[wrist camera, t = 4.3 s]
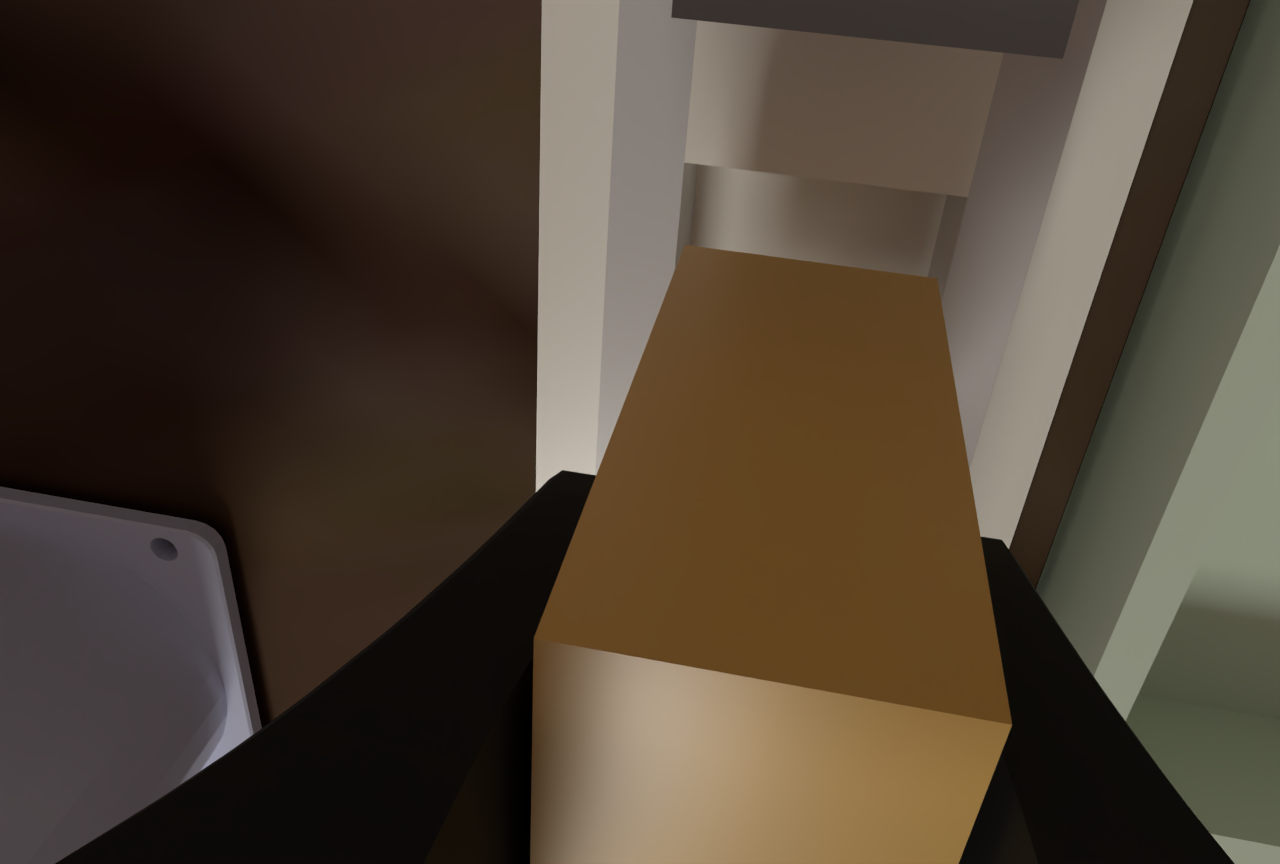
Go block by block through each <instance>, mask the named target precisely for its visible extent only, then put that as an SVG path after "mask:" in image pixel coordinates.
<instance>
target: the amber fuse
mask: <svg viewBox="0 0 1280 864" xmlns="http://www.w3.org/2000/svg"><path fill="white" fill-rule="evenodd" d="M1011 727H1012V721H1011V715H1010V709H1009V703H1008V697H1007V691H1006V685H1005V679H1004V673H1003V667H1002V661H1001V655H1000V649H999V643H998V637H997V631H996V626H995V620H994V614H993V608H992V602H991V596H990V590H989V584H988V578H987V572H986V566H985V560H984V554H983V548H982V542H981V536H980V530H979V524H978V518H977V512H976V506H975V500H974V494H973V488H972V482H971V476H970V470H969V464H968V458H967V452H966V446H965V440H964V435H963V429H962V423H961V417H960V411H959V405H958V399H957V393H956V387H955V381H954V375H953V369H952V363H951V357H950V351H949V345H948V339H947V333H946V327H945V321H944V315H943V309H942V303H941V297H940V291H939V285H938V279H937V278H931V277H923V276H916V275H908V274H901V273H893V272H886V271H878V270H871V269H863V268H856V267H848V266H841V265H833V264H826V263H818V262H811V261H803V260H796V259H788V258H781V257H773V256H766V255H758V254H750V253H743V252H735V251H728V250H720V249H713V248H705V247H698V246H690V245H684V248H683V250H682V253H681V256H680V258H679V261H678V263H677V266H676V269H675V271H674V274H673V277H672V279H671V282H670V284H669V287H668V290H667V292H666V295H665V297H664V300H663V303H662V305H661V308H660V310H659V313H658V316H657V318H656V321H655V323H654V326H653V329H652V331H651V334H650V336H649V339H648V342H647V344H646V347H645V350H644V352H643V355H642V357H641V360H640V363H639V365H638V368H637V370H636V373H635V376H634V378H633V381H632V383H631V386H630V389H629V391H628V394H627V396H626V399H625V402H624V404H623V407H622V409H621V412H620V415H619V417H618V420H617V423H616V425H615V428H614V430H613V433H612V436H611V438H610V441H609V443H608V446H607V449H606V451H605V454H604V456H603V459H602V462H601V464H600V467H599V469H598V472H597V475H596V477H595V480H594V482H593V485H592V488H591V490H590V493H589V495H588V498H587V501H586V503H585V506H584V509H583V511H582V514H581V516H580V519H579V522H578V524H577V527H576V529H575V532H574V535H573V537H572V540H571V542H570V545H569V548H568V550H567V553H566V555H565V558H564V561H563V563H562V566H561V568H560V571H559V574H558V576H557V579H556V582H555V584H554V587H553V589H552V592H551V595H550V597H549V600H548V602H547V605H546V608H545V610H544V613H543V615H542V618H541V621H540V623H539V626H538V628H537V631H536V634H535V636H534V649H533V712H532V775H531V838H530V864H959V861H960V859H961V856H962V853H963V851H964V848H965V846H966V843H967V841H968V838H969V835H970V833H971V830H972V828H973V825H974V822H975V820H976V817H977V815H978V812H979V809H980V807H981V804H982V802H983V799H984V797H985V794H986V791H987V789H988V786H989V784H990V781H991V778H992V776H993V773H994V771H995V768H996V765H997V763H998V760H999V758H1000V755H1001V753H1002V750H1003V747H1004V745H1005V742H1006V740H1007V737H1008V734H1009V732H1010V729H1011Z"/></svg>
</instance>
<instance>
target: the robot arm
mask: <svg viewBox="0 0 1280 864" xmlns="http://www.w3.org/2000/svg"><path fill="white" fill-rule="evenodd" d="M595 477H596V475H591V474H584V473H578V472H572V471H565V470H562V471H560V472H559V473H557V474H556V475H554V476H553V477H551V478H550V479H549V480H548V481H547V482H546V483H545V484H544V485H543V486H542V487H541V488H540V489H539V490H538V491H537V492H536V493H535V494H534V495H533V496H532V497H531V498H530V499H529V500H528V501H527V502H526V503H525V504H524V505H523V506H522V507H521V508H520V509H519V510H518V511H517V512H516V513H515V514H514V515H513V516H512V517H511V518H510V519H509V520H508V521H507V522H506V523H505V524H504V525H503V526H502V527H501V528H500V529H499V530H498V531H497V532H496V533H495V534H494V535H493V536H492V537H491V538H490V539H489V540H488V541H487V542H485V543H484V544H483V545H482V546H481V547H480V548H479V549H478V550H477V551H476V552H475V553H474V554H473V555H472V556H471V557H470V558H469V559H468V560H467V561H465V562H464V563H463V564H462V565H461V566H460V567H459V568H458V569H457V570H455V571H454V572H453V573H452V574H451V575H450V576H449V577H448V578H447V579H445V580H444V581H443V582H442V583H441V584H440V585H439V586H438V587H436V588H435V589H434V590H433V591H432V592H431V593H430V594H429V595H427V596H426V597H425V598H424V599H423V600H422V601H421V602H420V603H419V604H417V605H416V606H415V607H414V608H413V609H412V610H411V611H410V612H408V613H407V614H406V615H405V616H404V617H403V618H402V619H400V620H399V621H398V622H397V623H396V624H395V625H393V626H392V627H391V628H390V629H389V630H387V631H386V632H385V633H384V634H383V635H381V636H380V637H379V638H378V639H376V640H375V641H374V642H373V643H371V644H370V645H369V646H368V647H366V648H365V649H364V650H363V651H361V652H360V653H359V654H358V655H356V656H355V657H354V658H353V659H351V660H350V661H349V662H348V663H346V664H345V665H344V666H343V667H341V668H340V669H339V670H338V671H336V672H335V673H334V674H333V675H331V676H330V677H329V678H328V679H326V680H325V681H324V682H323V683H321V684H320V685H319V686H318V687H316V688H315V689H314V690H313V691H311V692H310V693H309V694H308V695H306V696H305V697H304V698H302V699H301V700H300V701H298V702H297V703H296V704H294V705H293V706H292V707H290V708H289V709H288V710H286V711H285V712H283V713H282V714H281V715H279V716H278V717H277V718H275V719H274V720H273V721H271V722H270V723H269V724H267V725H266V726H264V727H263V728H262V727H261V722H260V717H259V711H258V706H257V701H256V696H255V691H254V686H253V681H252V676H251V671H250V666H249V661H248V656H247V651H246V646H245V641H244V636H243V631H242V626H241V621H240V616H239V611H238V606H237V601H236V596H235V591H234V586H233V581H232V576H231V571H230V566H229V561H228V555H227V550H226V546H225V544H224V541H223V539H222V537H221V536H220V535H219V534H218V532H217V531H216V530H215V529H213V528H212V527H210V526H209V525H207V524H205V523H202V522H199V521H195V520H190V519H184V518H178V517H172V516H167V515H161V514H155V513H149V512H144V511H138V510H132V509H126V508H121V507H115V506H109V505H103V504H98V503H92V502H86V501H80V500H74V499H69V498H63V497H57V496H51V495H46V494H40V493H34V492H28V491H23V490H17V489H11V488H5V487H0V864H530V838H531V775H532V712H533V649H534V636H535V634H536V631H537V628H538V626H539V623H540V621H541V618H542V615H543V613H544V610H545V608H546V605H547V602H548V600H549V597H550V595H551V592H552V589H553V587H554V584H555V582H556V579H557V576H558V574H559V571H560V568H561V566H562V563H563V561H564V558H565V555H566V553H567V550H568V548H569V545H570V542H571V540H572V537H573V535H574V532H575V529H576V527H577V524H578V522H579V519H580V516H581V514H582V511H583V509H584V506H585V503H586V501H587V498H588V495H589V493H590V490H591V488H592V485H593V482H594V480H595ZM167 540H168V541H169V542H171V543H172V544H173V545H172V544H170V543H169V542H168V541H167ZM981 542H982V548H983V554H984V560H985V566H986V572H987V578H988V584H989V590H990V596H991V602H992V608H993V614H994V620H995V626H996V631H997V637H998V643H999V649H1000V655H1001V661H1002V667H1003V673H1004V679H1005V685H1006V691H1007V697H1008V703H1009V709H1010V715H1011V721H1012V727H1011V729H1010V732H1009V734H1008V737H1007V740H1006V742H1005V745H1004V747H1003V750H1002V753H1001V755H1000V758H999V760H998V763H997V765H996V768H995V771H994V773H993V776H992V778H991V781H990V784H989V786H988V789H987V791H986V794H985V797H984V799H983V802H982V804H981V807H980V809H979V812H978V815H977V817H976V820H975V822H974V825H973V828H972V830H971V833H970V835H969V838H968V841H967V843H966V846H965V848H964V851H963V853H962V856H961V859H960V861H959V864H1235V863H1234V862H1233V861H1232V860H1231V858H1230V857H1229V856H1228V855H1227V854H1226V852H1225V851H1224V850H1223V849H1222V847H1221V846H1220V845H1219V844H1218V842H1217V841H1216V840H1215V839H1214V838H1213V836H1212V835H1211V834H1210V833H1209V831H1208V830H1207V829H1206V828H1205V826H1204V825H1203V824H1202V823H1201V821H1200V820H1199V819H1198V818H1197V817H1196V815H1195V814H1194V813H1193V811H1192V810H1191V809H1190V807H1189V806H1188V805H1187V804H1186V802H1185V801H1184V800H1183V798H1182V797H1181V796H1180V794H1179V793H1178V792H1177V790H1176V789H1175V788H1174V787H1173V785H1172V784H1171V783H1170V781H1169V780H1168V779H1167V777H1166V776H1165V775H1164V773H1163V772H1162V771H1161V769H1160V768H1159V766H1158V765H1157V764H1156V762H1155V761H1154V760H1153V758H1152V757H1151V755H1150V754H1149V753H1148V751H1147V750H1146V749H1145V747H1144V746H1143V744H1142V743H1141V742H1140V740H1139V739H1138V738H1137V736H1136V735H1135V733H1134V732H1133V731H1132V729H1131V728H1130V727H1129V725H1128V724H1127V722H1126V721H1125V720H1124V718H1123V717H1122V716H1121V714H1120V713H1119V711H1118V710H1117V709H1116V707H1115V706H1114V705H1113V703H1112V702H1111V700H1110V699H1109V698H1108V696H1107V695H1106V693H1105V692H1104V690H1103V689H1102V688H1101V686H1100V685H1099V683H1098V682H1097V680H1096V679H1095V677H1094V676H1093V675H1092V673H1091V672H1090V670H1089V669H1088V667H1087V666H1086V664H1085V663H1084V661H1083V660H1082V658H1081V657H1080V655H1079V654H1078V653H1077V651H1076V650H1075V648H1074V647H1073V645H1072V644H1071V642H1070V641H1069V639H1068V638H1067V636H1066V635H1065V633H1064V632H1063V630H1062V629H1061V627H1060V626H1059V624H1058V623H1057V621H1056V620H1055V618H1054V617H1053V615H1052V614H1051V612H1050V611H1049V609H1048V608H1047V606H1046V605H1045V603H1044V601H1043V600H1042V598H1041V597H1040V595H1039V594H1038V592H1037V591H1036V589H1035V588H1034V586H1033V585H1032V583H1031V582H1030V580H1029V579H1028V577H1027V576H1026V574H1025V573H1024V571H1023V569H1022V568H1021V566H1020V565H1019V563H1018V562H1017V561H1016V559H1015V558H1014V556H1013V555H1012V553H1011V552H1010V550H1009V549H1008V548H1007V546H1006V545H1005V543H1004V542H1003V540H1000V539H994V538H988V537H981Z"/></svg>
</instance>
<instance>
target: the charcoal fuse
mask: <svg viewBox="0 0 1280 864" xmlns="http://www.w3.org/2000/svg"><path fill="white" fill-rule="evenodd" d="M1078 3H1079V0H673V1H672V14H671V18H679V19H689V20H698V21H708V22H717V23H727V24H736V25H746V26H755V27H764V28H774V29H783V30H793V31H802V32H812V33H821V34H831V35H840V36H850V37H859V38H869V39H878V40H888V41H897V42H907V43H916V44H926V45H935V46H944V47H954V48H963V49H973V50H982V51H992V52H1001V53H1011V54H1020V55H1030V56H1039V57H1049V58H1058V59H1063V57H1064V54H1065V50H1066V46H1067V43H1068V39H1069V36H1070V32H1071V28H1072V25H1073V21H1074V18H1075V14H1076V11H1077V7H1078Z"/></svg>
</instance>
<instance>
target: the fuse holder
mask: <svg viewBox="0 0 1280 864" xmlns="http://www.w3.org/2000/svg"><path fill="white" fill-rule="evenodd" d="M672 1H673V0H542V40H541V121H540V202H539V283H538V364H537V445H536V492H537V491H538V490H539V489H540V488H541V487H542V486H543V485H544V484H545V483H546V482H547V481H548V480H549V479H550V478H551V477H553V476H554V475H556V474H557V473H559V472H560V471H562V470H565V471H572V472H578V473H584V474H591V475H597V472H598V469H599V467H600V464H601V462H602V459H603V456H604V454H605V451H606V449H607V446H608V443H609V441H610V438H611V436H612V433H613V430H614V428H615V425H616V423H617V420H618V417H619V415H620V412H621V409H622V407H623V404H624V402H625V399H626V396H627V394H628V391H629V389H630V386H631V383H632V381H633V378H634V376H635V373H636V370H637V368H638V365H639V363H640V360H641V357H642V355H643V352H644V350H645V347H646V344H647V342H648V339H649V336H650V334H651V331H652V329H653V326H654V323H655V321H656V318H657V316H658V313H659V310H660V308H661V305H662V303H663V300H664V297H665V295H666V292H667V290H668V287H669V284H670V282H671V279H672V277H673V274H674V271H675V269H676V266H677V263H678V261H679V258H680V256H681V253H682V250H683V248H684V245H690V246H698V247H705V248H713V249H720V250H728V251H735V252H743V253H750V254H758V255H766V256H773V257H781V258H788V259H796V260H803V261H811V262H818V263H826V264H833V265H841V266H848V267H856V268H863V269H871V270H878V271H886V272H893V273H901V274H908V275H916V276H923V277H931V278H937V279H938V285H939V291H940V297H941V303H942V309H943V315H944V321H945V327H946V333H947V339H948V345H949V351H950V357H951V363H952V369H953V375H954V381H955V387H956V393H957V399H958V405H959V411H960V417H961V423H962V429H963V435H964V440H965V446H966V452H967V458H968V464H969V470H970V476H971V482H972V488H973V494H974V500H975V506H976V512H977V518H978V524H979V530H980V536H981V537H988V538H994V539H1000V540H1003V542H1004V543H1005V545H1006V546H1007V548H1008V549H1009V547H1010V544H1011V541H1012V538H1013V535H1014V532H1015V529H1016V527H1017V524H1018V521H1019V518H1020V515H1021V512H1022V509H1023V506H1024V503H1025V500H1026V497H1027V494H1028V491H1029V488H1030V485H1031V482H1032V479H1033V476H1034V473H1035V470H1036V467H1037V464H1038V461H1039V458H1040V455H1041V452H1042V449H1043V446H1044V443H1045V440H1046V437H1047V434H1048V431H1049V428H1050V425H1051V422H1052V419H1053V416H1054V413H1055V410H1056V407H1057V404H1058V401H1059V399H1060V396H1061V393H1062V390H1063V387H1064V384H1065V381H1066V378H1067V375H1068V372H1069V369H1070V366H1071V363H1072V360H1073V357H1074V354H1075V351H1076V348H1077V345H1078V342H1079V339H1080V336H1081V333H1082V330H1083V327H1084V324H1085V321H1086V318H1087V315H1088V312H1089V309H1090V306H1091V303H1092V300H1093V297H1094V294H1095V291H1096V288H1097V285H1098V282H1099V279H1100V276H1101V273H1102V271H1103V268H1104V265H1105V262H1106V259H1107V256H1108V253H1109V250H1110V247H1111V244H1112V241H1113V238H1114V235H1115V232H1116V229H1117V226H1118V223H1119V220H1120V217H1121V214H1122V211H1123V208H1124V205H1125V202H1126V199H1127V196H1128V193H1129V190H1130V187H1131V184H1132V181H1133V178H1134V175H1135V172H1136V169H1137V166H1138V163H1139V160H1140V157H1141V154H1142V151H1143V148H1144V145H1145V143H1146V140H1147V137H1148V134H1149V131H1150V128H1151V125H1152V122H1153V119H1154V116H1155V113H1156V110H1157V107H1158V104H1159V101H1160V98H1161V95H1162V92H1163V89H1164V86H1165V83H1166V80H1167V77H1168V74H1169V71H1170V68H1171V65H1172V62H1173V59H1174V56H1175V53H1176V50H1177V47H1178V44H1179V41H1180V38H1181V35H1182V32H1183V29H1184V26H1185V23H1186V20H1187V17H1188V15H1189V12H1190V9H1191V6H1192V3H1193V0H1079V3H1078V7H1077V11H1076V14H1075V18H1074V21H1073V25H1072V28H1071V32H1070V36H1069V39H1068V43H1067V46H1066V50H1065V54H1064V57H1063V59H1058V58H1049V57H1039V56H1030V55H1020V54H1011V53H1001V52H992V51H982V50H973V49H963V48H954V47H944V46H935V45H926V44H916V43H907V42H897V41H888V40H878V39H869V38H859V37H850V36H840V35H831V34H821V33H812V32H802V31H793V30H783V29H774V28H764V27H755V26H746V25H736V24H727V23H717V22H708V21H698V20H689V19H679V18H671V14H672Z"/></svg>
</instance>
